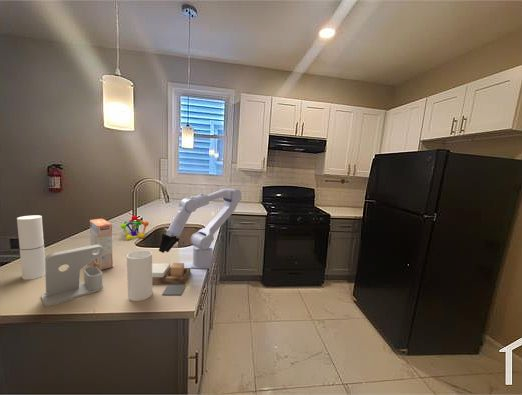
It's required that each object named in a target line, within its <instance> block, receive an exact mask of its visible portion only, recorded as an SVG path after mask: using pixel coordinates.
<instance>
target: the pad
mask: <svg viewBox="0 0 522 395" xmlns="http://www.w3.org/2000/svg"><path fill="white" fill-rule="evenodd" d="M185 287H186V284H167V285H166V286H165V289H164V291H163V292H162V294H161V295H162V296H181V295H182V294H183V292H184V289H185Z"/></svg>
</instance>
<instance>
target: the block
mask: <svg viewBox="0 0 522 395" xmlns="http://www.w3.org/2000/svg"><path fill="white" fill-rule="evenodd" d="M170 267H171V276H174V277H184V275H185V274H184V268H185V263H184V262H173V263H172V264H171V265H170Z"/></svg>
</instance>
